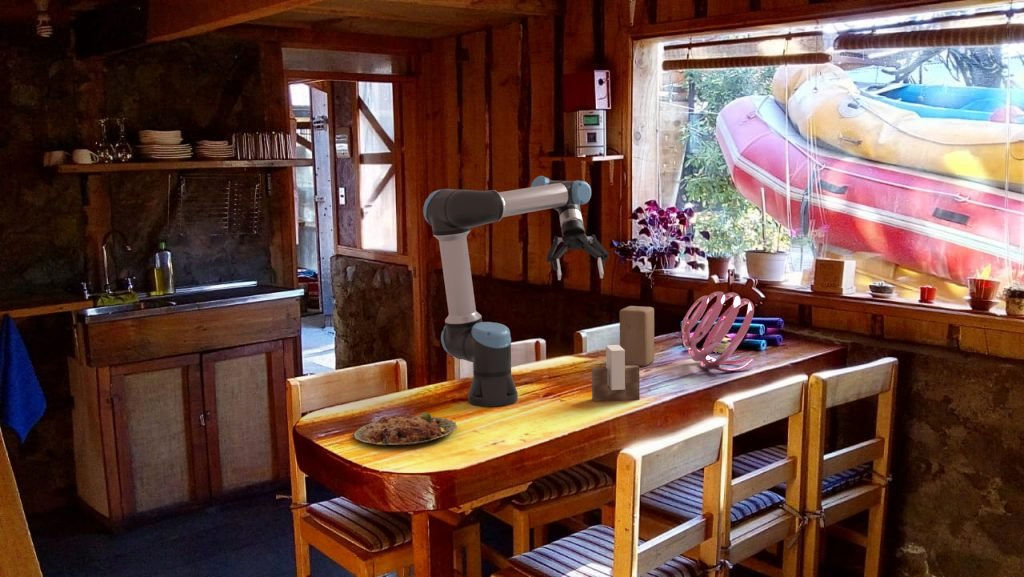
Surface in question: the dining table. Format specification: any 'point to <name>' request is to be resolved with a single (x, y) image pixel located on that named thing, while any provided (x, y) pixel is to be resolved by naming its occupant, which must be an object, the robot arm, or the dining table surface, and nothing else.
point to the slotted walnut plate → (606, 394)
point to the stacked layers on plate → (722, 346)
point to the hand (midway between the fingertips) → (581, 276)
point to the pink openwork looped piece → (715, 330)
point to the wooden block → (637, 335)
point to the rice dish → (405, 429)
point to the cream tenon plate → (615, 366)
